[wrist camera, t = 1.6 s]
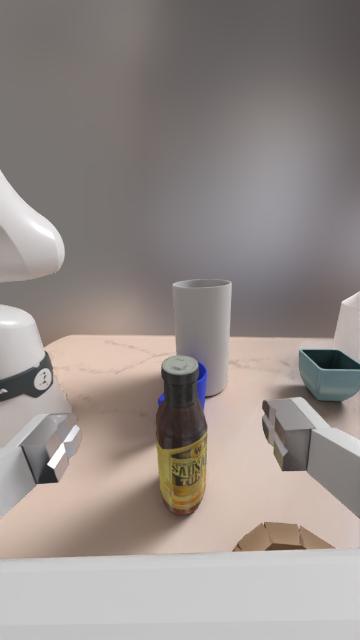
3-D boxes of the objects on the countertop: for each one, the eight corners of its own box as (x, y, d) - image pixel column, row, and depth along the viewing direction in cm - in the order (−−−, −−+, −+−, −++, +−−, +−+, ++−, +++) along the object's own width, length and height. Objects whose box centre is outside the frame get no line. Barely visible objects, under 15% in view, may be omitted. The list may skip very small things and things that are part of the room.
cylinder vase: (234, 395, 43) (240, 285, 35) (180, 400, 42) (173, 289, 34) (219, 365, 55) (221, 278, 47) (176, 369, 54) (171, 281, 46)
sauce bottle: (177, 533, 22) (164, 395, 16) (152, 483, 27) (135, 363, 21) (217, 493, 26) (220, 367, 19) (189, 456, 30) (184, 345, 24)
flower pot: (292, 380, 47) (298, 348, 44) (330, 381, 46) (339, 348, 43) (312, 407, 39) (320, 369, 36) (359, 409, 38) (371, 370, 35)
